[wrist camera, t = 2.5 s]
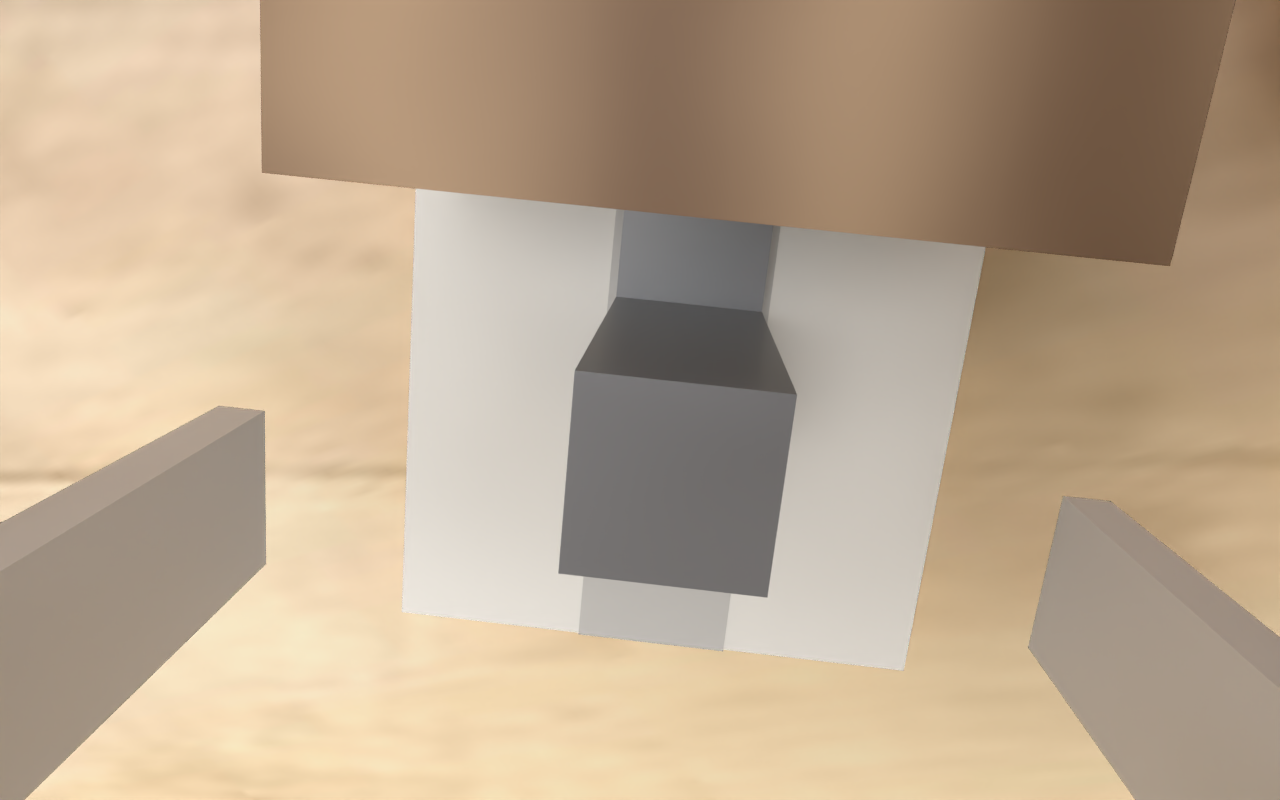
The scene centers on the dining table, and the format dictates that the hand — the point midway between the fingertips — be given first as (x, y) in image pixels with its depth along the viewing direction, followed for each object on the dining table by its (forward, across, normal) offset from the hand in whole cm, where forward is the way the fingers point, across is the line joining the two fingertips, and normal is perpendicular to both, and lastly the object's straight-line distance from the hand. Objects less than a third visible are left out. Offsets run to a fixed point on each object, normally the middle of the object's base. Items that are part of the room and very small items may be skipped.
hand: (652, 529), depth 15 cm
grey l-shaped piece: (+12, 0, +6) cm, 13 cm away
